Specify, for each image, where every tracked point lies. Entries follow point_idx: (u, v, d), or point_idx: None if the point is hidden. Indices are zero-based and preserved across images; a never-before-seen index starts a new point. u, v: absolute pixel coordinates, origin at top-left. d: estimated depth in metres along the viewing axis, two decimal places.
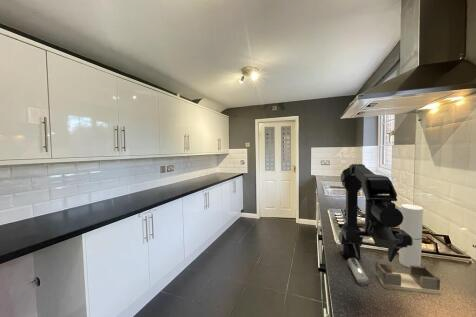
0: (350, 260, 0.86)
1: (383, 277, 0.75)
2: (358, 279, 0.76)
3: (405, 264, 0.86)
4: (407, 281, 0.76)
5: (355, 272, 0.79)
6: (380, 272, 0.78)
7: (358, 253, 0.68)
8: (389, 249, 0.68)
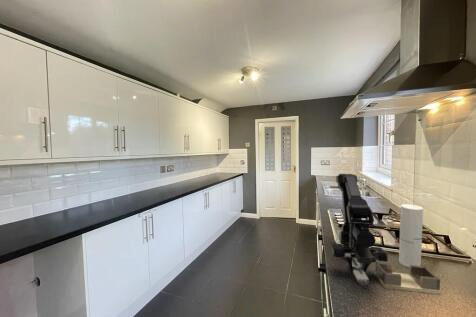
0: None
1: (383, 277, 0.75)
2: (358, 279, 0.76)
3: (405, 264, 0.86)
4: (407, 281, 0.76)
5: (355, 272, 0.79)
6: (380, 272, 0.78)
7: (350, 267, 0.81)
8: (363, 263, 0.82)
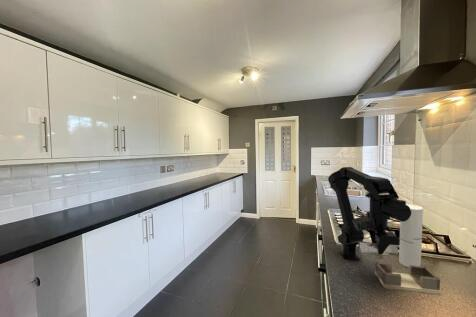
0: None
1: (383, 277, 0.75)
2: (358, 244, 0.81)
3: (405, 264, 0.86)
4: (407, 281, 0.76)
5: None
6: (380, 272, 0.78)
7: (372, 242, 0.81)
8: None
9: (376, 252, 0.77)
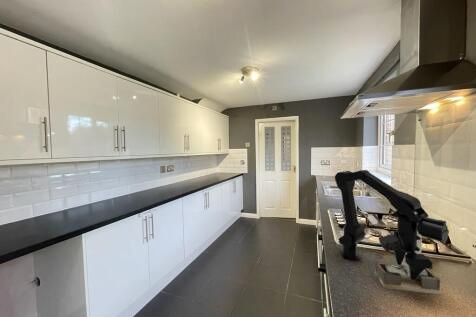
0: None
1: (383, 277, 0.75)
2: (384, 267, 0.79)
3: (405, 264, 0.86)
4: (407, 281, 0.76)
5: None
6: (380, 272, 0.78)
7: None
8: None
9: (404, 276, 0.75)
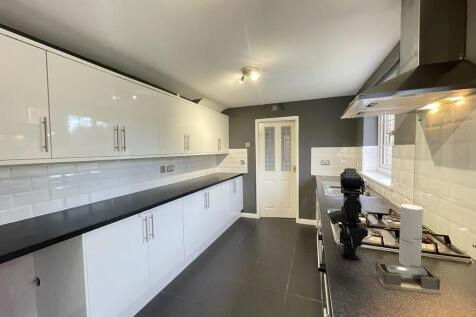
0: None
1: (383, 277, 0.75)
2: (384, 267, 0.79)
3: (405, 264, 0.86)
4: (407, 281, 0.76)
5: None
6: (380, 272, 0.78)
7: (344, 232, 0.88)
8: None
9: (404, 276, 0.75)
